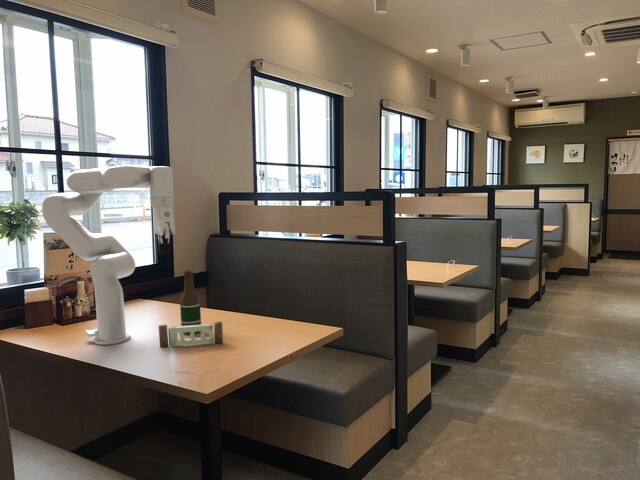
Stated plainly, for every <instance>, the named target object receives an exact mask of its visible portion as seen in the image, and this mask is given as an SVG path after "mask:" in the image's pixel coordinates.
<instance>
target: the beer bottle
mask: <svg viewBox="0 0 640 480" xmlns="http://www.w3.org/2000/svg"><path fill="white" fill-rule="evenodd" d="M193 274H194V271H193V270H192V269H186V270H184V271H183V275H184V277H183V278H184V279H183V281H184V282H183V285H184V288H183V292H182V295H181V297H180V301H179V304H180V305H179V307H180V310H179V311H180V326H190V325H202V317H201V316H202V315H201V300H200V296H199V294H198V292H196V290H195V283H194V276H193ZM197 334H201V331H197V332H194V335H197ZM184 335H186V336H187V335H188V336H189V335H190V332H184ZM190 336H191V335H190Z"/></svg>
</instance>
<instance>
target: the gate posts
mask: <svg viewBox="0 0 640 480" xmlns="http://www.w3.org/2000/svg"><path fill="white" fill-rule="evenodd" d="M213 325H214V328H213V332H214V345H223V344H224V334H223V333H224V332H223V321H215V322H213ZM169 328H170V327H168V325H167V324H159V325H158V335H159V336H158V337H159V348H160V349H165V348H168V347H169V346H170V330H169Z"/></svg>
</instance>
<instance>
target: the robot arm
mask: <svg viewBox="0 0 640 480" xmlns="http://www.w3.org/2000/svg"><path fill="white" fill-rule="evenodd" d="M173 174H174V173H173V169H172V167H170V166H165V165H161V166H160V165H159V166H157V165H156V166H155V165H154V166H148V165H147V166H145V165H131V164H130V165H119V166H109V167H101V168H100V167H99V168H91V169H89V168H88V169H79V170H78V169H77V170H74V171H73V172H71V173H70V174H69V175H67V178H66V186H67V187H68V188H69V190H70V191H72V192H59V193H54V194H50V195H48V196H47V197H46V198H45V199H43V202H42V206H41V212H42V217H43V219H44V221H45V224H47V226H48V227H49V228H50V229H51V230H52V231H53V232H54V233H55V234H57V235H58V236H59V237H60V239H62V240H63V242H65V244H66V245H67V246H68V247H69V248H70V249H71V250H73V252H74V253H75V254H76V255H77V256H78V257H79V258H80V259H82V260H83V261H92V262H91V263H90V268H89V272H90V276H91V280H92V284H93V291H94V299H95V311H96V312H95V313H96V314H95V315H96V324H97V325H96V326H97V328H96V329H94V330H93V329H91V330H89V329H87V330H86V332H85V333H86V334H85V335H86V336H87V337H89V338H90V337H94V338H93V343H94V344H95V345H101V346H106V345H107V346H108V345H115V344H120V343H124V342H126V341H129V340H130V339H131V333H129V332H127V331H126V329H127V328H126V318H125V317H126V316H125V315H126V314H125V304H124V303H125V301H124V300H125V299H124V292H123V290H124V289H123V287H122V284H121V282H120V281H119V279H123V278H125V277H126V278H127V277H129V276H131V275H132V274H133V273H134V271H135V269H136V262H135V259H134V257H133V255H132V254H131V253H130V252H129V251H128V250H127V249H126V248H125V246H123V245H122V244H121V243H120V242H119V241H118V240H117V239H116V238H115V237H114V236H113V235H111V234H109V233H105V232H100V233H98V232H97V233H92V232H90V231H89V229H87V228H86V227H85V225H84V224H82V222H80V221H78V220H77V219H75V218H73V217H71V216H81V215H85V214H86V213H88V212H89V211H90V210H91V209H92V208H93V206H94V205H95V203H96V202H97V201H98V200H99V198H100V197H101V196H102V194H103V193H106V192H107V193H108V192H109V193H110V192H112V191H113V190H118V189H129V188H130V189H135V188H136V189H137V188H138V189H139V188H141V189H145V188H146V189H148V188H150V206H151V207H153V232H154V233H155V234H156V235H157V239H158V255H159V256H167V255H170V238H171V236H170V235H172V236H174V235H175V233H176V230H175V229H176V226H175V216H174V209H173V207H175V206H174V205H175V204H174V202H175V201H174V175H173Z"/></svg>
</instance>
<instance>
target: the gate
mask: <svg viewBox="0 0 640 480" xmlns="http://www.w3.org/2000/svg"><path fill="white" fill-rule="evenodd" d="M213 325H214V323H205V324H201V325H190V326H181V325H179V326H170V327H168V328H169V330H170V345H169V346H170V347H171V348H176V347H178V346H179V347H180V346H190V345H202V344H204V345H205V344H211V345H212V344H214V328H213ZM197 331H201V332H200V337H195V334H194V332H197ZM207 331H208V332H209V333H208V335H209V336H205V333H206V332H207ZM184 332H190V338H185V334H184ZM178 334H179V338H178Z"/></svg>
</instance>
